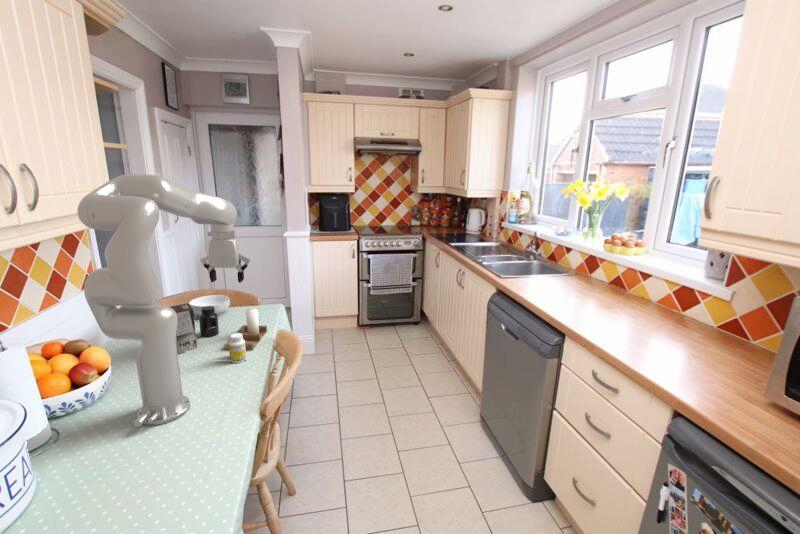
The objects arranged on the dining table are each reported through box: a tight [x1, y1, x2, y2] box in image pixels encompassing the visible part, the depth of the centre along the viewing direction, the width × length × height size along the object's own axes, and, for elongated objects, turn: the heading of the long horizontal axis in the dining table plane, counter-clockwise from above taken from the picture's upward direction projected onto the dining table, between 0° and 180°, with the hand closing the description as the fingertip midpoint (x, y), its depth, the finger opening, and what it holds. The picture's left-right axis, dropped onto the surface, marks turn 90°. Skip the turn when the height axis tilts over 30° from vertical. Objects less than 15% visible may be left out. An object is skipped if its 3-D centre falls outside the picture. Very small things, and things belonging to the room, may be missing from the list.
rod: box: [245, 307, 260, 334], centre depth 151 cm, size 4×4×11 cm
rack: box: [224, 324, 268, 352], centre depth 149 cm, size 18×10×3 cm, turn 2°
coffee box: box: [169, 302, 198, 354], centre depth 140 cm, size 9×6×16 cm
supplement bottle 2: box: [228, 332, 247, 364], centre depth 133 cm, size 5×5×10 cm
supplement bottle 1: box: [198, 306, 220, 339], centre depth 152 cm, size 7×7×12 cm
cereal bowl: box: [188, 294, 231, 316], centre depth 174 cm, size 17×17×7 cm
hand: (227, 281), depth 138 cm, fingers open, 9 cm apart
